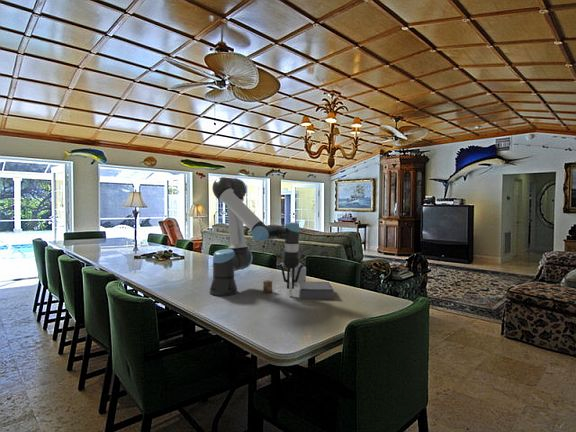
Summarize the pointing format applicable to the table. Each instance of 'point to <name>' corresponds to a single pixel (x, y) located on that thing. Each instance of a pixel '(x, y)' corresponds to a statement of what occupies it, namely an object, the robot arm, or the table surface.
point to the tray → (299, 290)
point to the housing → (316, 290)
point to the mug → (301, 276)
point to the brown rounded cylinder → (267, 286)
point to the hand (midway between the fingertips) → (290, 294)
